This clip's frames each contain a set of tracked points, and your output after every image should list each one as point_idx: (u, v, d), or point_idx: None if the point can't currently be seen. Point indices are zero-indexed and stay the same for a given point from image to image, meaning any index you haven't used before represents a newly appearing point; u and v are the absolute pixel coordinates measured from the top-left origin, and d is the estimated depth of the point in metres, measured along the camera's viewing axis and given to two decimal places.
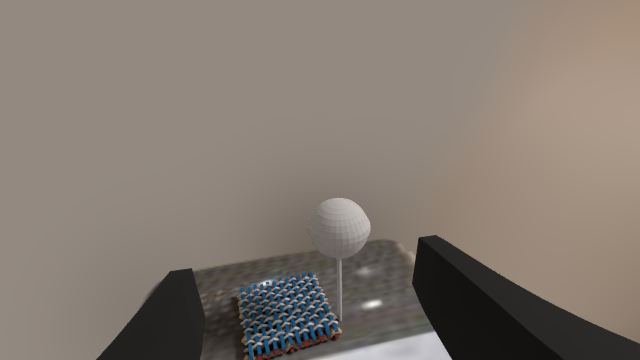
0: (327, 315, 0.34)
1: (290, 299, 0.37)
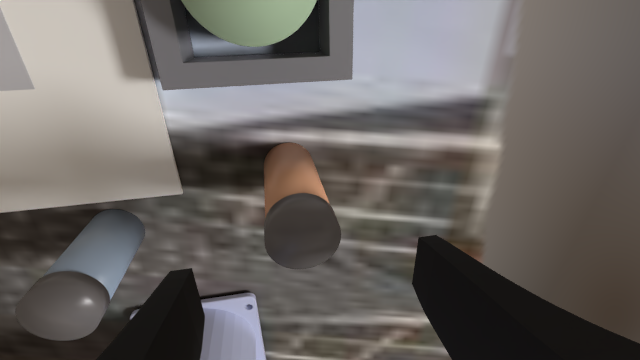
0: None
1: None
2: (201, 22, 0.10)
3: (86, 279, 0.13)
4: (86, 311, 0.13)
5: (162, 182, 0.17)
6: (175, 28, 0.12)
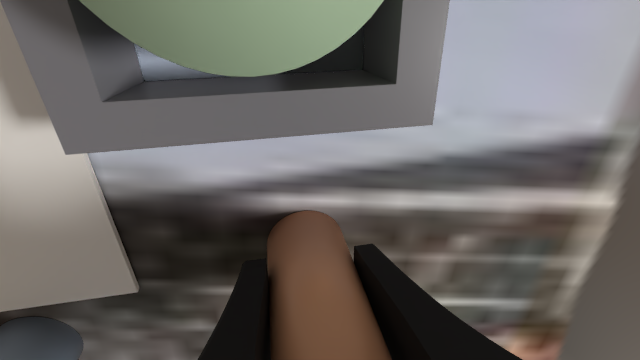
0: None
1: None
2: (105, 16, 0.04)
3: None
4: None
5: (103, 278, 0.10)
6: (78, 31, 0.06)
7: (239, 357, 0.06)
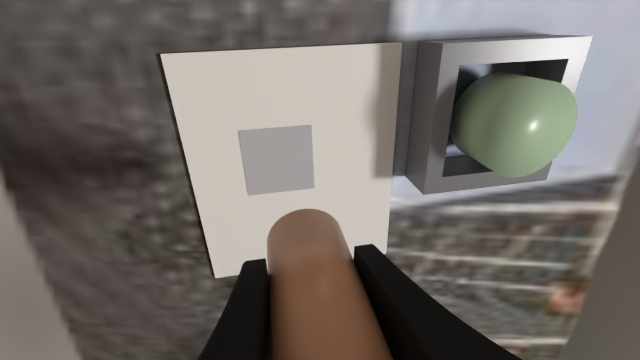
0: None
1: None
2: (491, 166, 0.15)
3: None
4: None
5: None
6: (444, 156, 0.17)
7: (240, 356, 0.06)
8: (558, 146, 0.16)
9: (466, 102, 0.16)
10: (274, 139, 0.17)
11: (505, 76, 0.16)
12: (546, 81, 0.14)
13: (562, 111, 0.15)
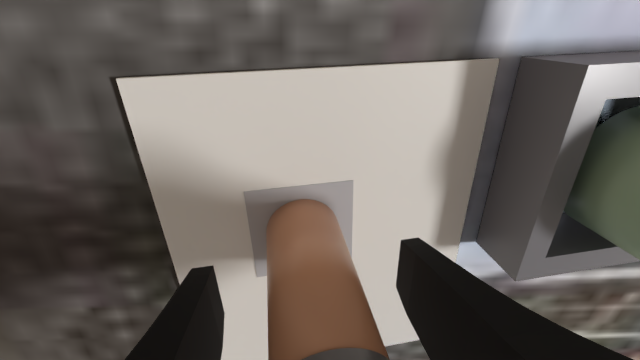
0: None
1: None
2: None
3: None
4: None
5: None
6: (554, 230, 0.11)
7: None
8: None
9: (599, 153, 0.10)
10: None
11: None
12: None
13: None
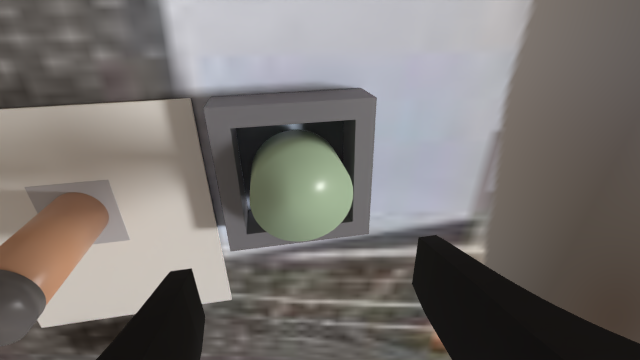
0: None
1: None
2: (269, 232, 0.15)
3: None
4: None
5: (216, 293, 0.21)
6: (243, 214, 0.17)
7: None
8: (341, 211, 0.15)
9: (254, 162, 0.16)
10: None
11: (286, 138, 0.15)
12: (302, 151, 0.13)
13: (333, 178, 0.14)
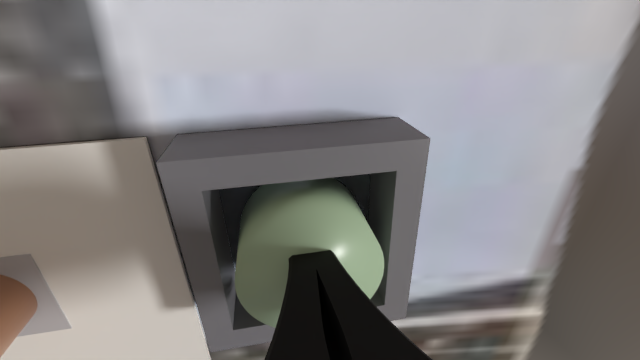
0: None
1: None
2: (264, 321, 0.10)
3: None
4: None
5: None
6: (227, 305, 0.11)
7: (311, 344, 0.06)
8: (367, 290, 0.11)
9: (242, 219, 0.11)
10: None
11: (288, 187, 0.11)
12: (312, 215, 0.09)
13: (357, 249, 0.10)
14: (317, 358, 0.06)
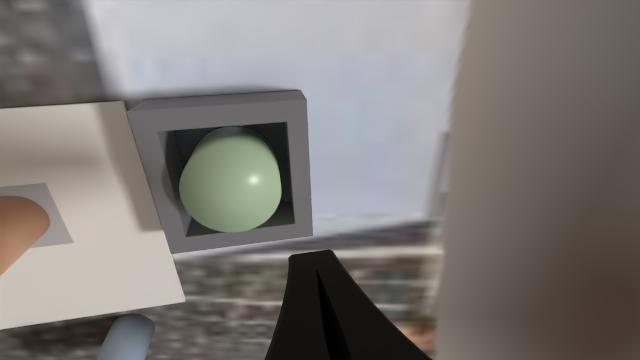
0: None
1: None
2: (202, 223, 0.16)
3: None
4: None
5: (169, 295, 0.21)
6: (180, 217, 0.17)
7: (311, 343, 0.06)
8: (271, 203, 0.16)
9: None
10: None
11: (218, 134, 0.16)
12: (226, 146, 0.14)
13: (259, 171, 0.15)
14: (317, 359, 0.06)
